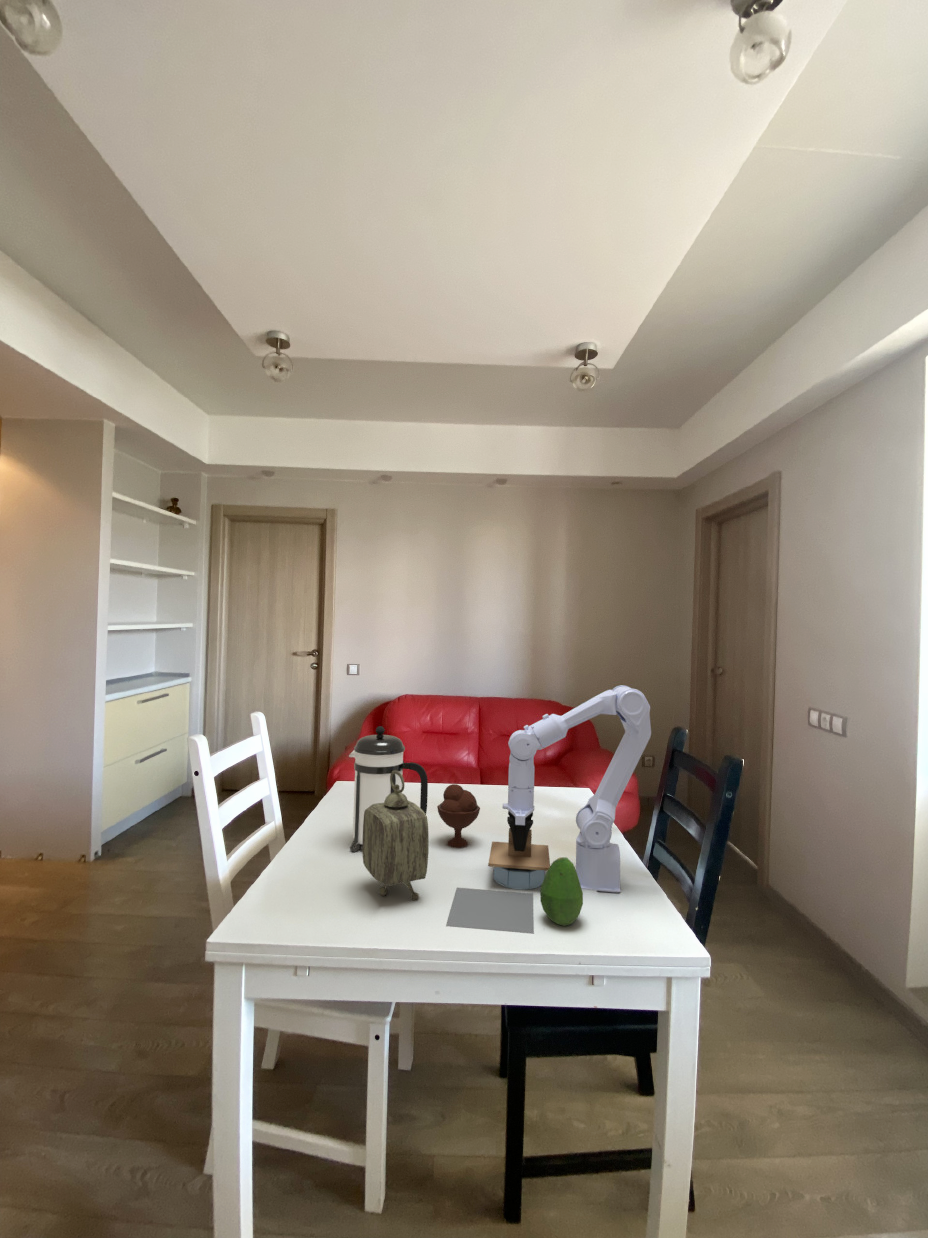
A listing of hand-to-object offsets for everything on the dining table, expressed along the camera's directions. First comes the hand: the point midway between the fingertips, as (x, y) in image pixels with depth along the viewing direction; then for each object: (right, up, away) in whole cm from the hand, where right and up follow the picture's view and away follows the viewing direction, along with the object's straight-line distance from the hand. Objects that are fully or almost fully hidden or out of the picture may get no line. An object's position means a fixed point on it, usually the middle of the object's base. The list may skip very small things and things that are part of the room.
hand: (519, 847), depth 124 cm
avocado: (+6, -7, -19) cm, 21 cm away
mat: (-7, -6, -15) cm, 17 cm away
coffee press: (-33, -7, +19) cm, 39 cm away
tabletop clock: (-27, -6, -8) cm, 29 cm away
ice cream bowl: (-14, -8, +20) cm, 26 cm away
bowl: (0, -7, 0) cm, 7 cm away
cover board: (0, -2, 0) cm, 2 cm away
